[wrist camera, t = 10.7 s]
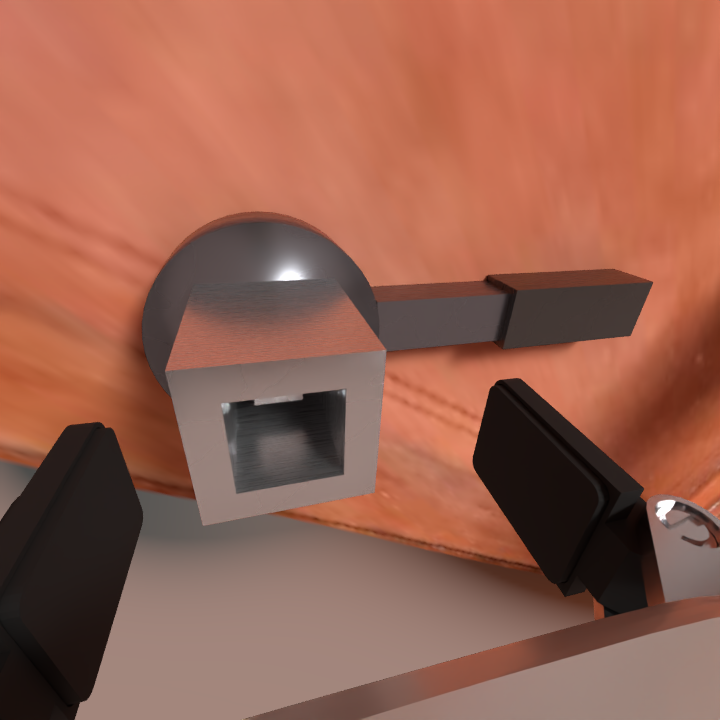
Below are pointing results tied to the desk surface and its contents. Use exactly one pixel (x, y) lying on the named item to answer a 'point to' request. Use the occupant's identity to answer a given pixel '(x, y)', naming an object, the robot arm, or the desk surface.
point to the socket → (274, 379)
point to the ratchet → (389, 293)
